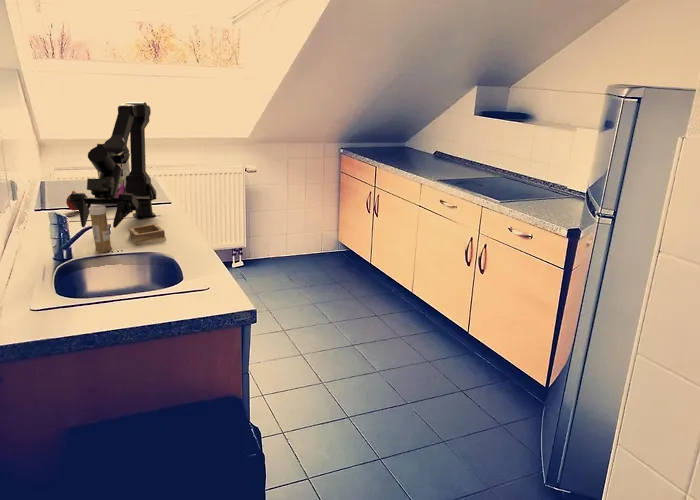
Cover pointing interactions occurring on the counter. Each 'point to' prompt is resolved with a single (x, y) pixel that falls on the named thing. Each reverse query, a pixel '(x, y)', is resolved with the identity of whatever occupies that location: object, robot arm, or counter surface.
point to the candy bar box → (122, 178)
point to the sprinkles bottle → (100, 228)
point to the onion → (70, 203)
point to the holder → (146, 234)
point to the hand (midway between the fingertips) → (98, 226)
